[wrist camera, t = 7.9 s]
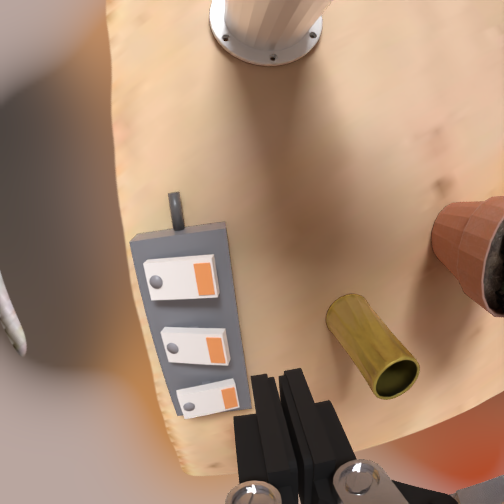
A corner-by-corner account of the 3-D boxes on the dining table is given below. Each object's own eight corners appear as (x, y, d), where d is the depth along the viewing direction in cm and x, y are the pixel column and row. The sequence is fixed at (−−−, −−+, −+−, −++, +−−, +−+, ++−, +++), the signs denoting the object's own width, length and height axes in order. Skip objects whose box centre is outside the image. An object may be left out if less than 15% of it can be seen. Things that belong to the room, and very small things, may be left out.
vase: (375, 315, 41) (430, 375, 28) (340, 343, 42) (382, 412, 28) (355, 284, 40) (412, 341, 26) (316, 313, 40) (358, 383, 27)
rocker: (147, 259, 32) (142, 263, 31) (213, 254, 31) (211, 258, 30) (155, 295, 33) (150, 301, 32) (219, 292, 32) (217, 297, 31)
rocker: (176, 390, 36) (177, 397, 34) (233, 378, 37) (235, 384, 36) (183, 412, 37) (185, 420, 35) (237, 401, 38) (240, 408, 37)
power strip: (131, 198, 34) (121, 204, 30) (220, 185, 35) (220, 188, 31) (179, 399, 42) (177, 418, 38) (249, 391, 43) (252, 410, 39)
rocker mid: (164, 326, 35) (159, 332, 33) (225, 328, 33) (222, 335, 32) (172, 356, 36) (168, 362, 35) (230, 359, 34) (227, 366, 33)
